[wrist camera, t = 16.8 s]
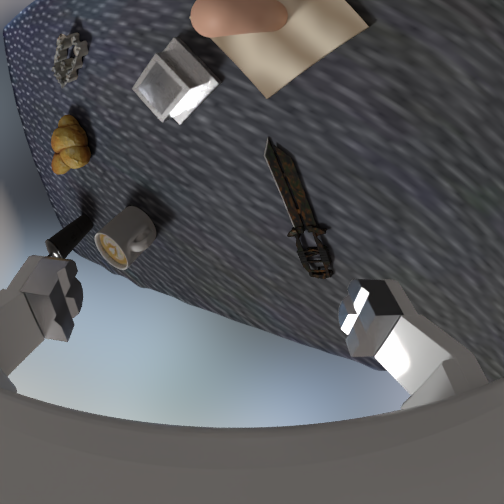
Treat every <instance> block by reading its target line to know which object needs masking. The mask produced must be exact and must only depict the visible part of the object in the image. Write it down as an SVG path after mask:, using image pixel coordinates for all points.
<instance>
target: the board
mask: <svg viewBox="0 0 504 504" xmlns="http://www.w3.org/2000/svg"><path fill="white" fill-rule="evenodd" d="M277 1H279V2H281V3H282V4H283V5H284V6H285V8H286V10H287V13H288V18H287V22H286V24H285V25H284V26H283V27H282V28H281V29H279V30H277V31H274V32H260V33H248V34H238V35H229V36H221V37H214V38H211V39H212V40H213V41H214V42H215V43H216V44H217V45H218V46H219V47H220V48H221V49H222V50H223V51H224V52H225V53H226V54H227V56H228V57H229V58H230V59H231V60H232V61H233V62H234V63H235V64H236V65H237V66H238V67H239V68H240V69H241V70H242V71H243V73H244V74H245V75H246V76H247V77H248V78H249V79H250V80H251V81H252V82H253V84H254V85H255V86H256V87H257V88H258V89H259V90H260V92H261V93H262V94H263V95H264V96H265V97H266V98H267V99H268V98H270V97H271V96H273V95H274V94H275V93H276V92H278V91H279V90H280V89H281V88H283V87H284V86H285V85H287V84H288V83H289V82H290V81H292V80H293V79H294V78H296V77H297V76H298V75H300V74H301V73H302V72H304V71H305V70H307V69H308V68H309V67H311V66H312V65H313V64H315V63H316V62H318V61H319V60H320V59H322V58H323V57H325V56H326V55H327V54H329V53H330V52H332V51H333V50H335V49H336V48H338V47H339V46H341V45H342V44H344V43H345V42H347V41H348V40H350V39H351V38H353V37H354V36H356V35H357V34H359V33H361V32H362V31H364V30H365V29H367V28H369V26H368V25H367V24H366V23H365V22H364V20H363V19H362V18H361V17H360V16H359V15H358V14H357V12H356V11H355V10H354V9H353V8H352V7H351V6H350V5H349V4H348V3H347V2H346V1H345V0H277ZM189 18H190V19H191V16H190V17H189Z"/></svg>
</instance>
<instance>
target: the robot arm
mask: <svg viewBox="0 0 504 504" xmlns="http://www.w3.org/2000/svg"><path fill="white" fill-rule="evenodd" d="M77 272H78V270H77V267H76V263H75V262H74V261H73V260H71V259H62V258H54V257H46V256H45V257H44V256H36V255H32V256H29V257H28V259H27V260H26V262H25V263H24V264H23V266H22V267H21V268H20V270H19V271H18V273H17V274H16V276H15V277H14V279H13V280H12V282H11V283H10V285H9V286H8V288H7V289H6V290H5V289H2V290H1V291H0V504H504V377H503V378H501V379H498V380H496V381H493V382H491V383H488V381H487V379H486V377H485V375H484V373H483V371H482V369H481V367H480V365H479V364H478V362H477V360H476V358H475V356H474V354H473V353H472V352H470V351H469V350H468V349H466V348H465V347H464V346H463V345H461V344H460V343H459V342H457V341H456V340H455V339H453V338H452V337H451V336H449V335H448V334H447V333H445V332H444V331H443V330H441V329H440V328H439V327H437V326H436V325H435V324H433V323H432V322H431V321H429V320H428V319H427V318H425V317H424V316H423V315H418V314H417V312H416V311H415V309H414V307H413V305H412V304H411V302H410V300H409V299H408V297H407V295H406V294H405V292H404V291H403V289H402V287H401V286H400V284H399V282H397V281H396V280H389V279H381V280H370V279H353V280H352V281H351V282H350V284H349V286H348V288H347V290H348V293H349V295H348V296H347V297H345V298H344V299H343V300H342V302H341V304H340V307H339V314H338V318H339V324H340V327H341V329H342V330H343V331H344V332H345V333H347V334H348V335H347V337H346V340H345V341H346V344H347V346H348V349H349V352H350V355H351V357H363V356H375V358H376V359H377V360H378V361H379V362H380V363H381V364H382V365H383V367H384V368H385V369H386V370H387V371H388V372H389V373H390V374H391V375H392V376H393V377H394V378H395V379H396V380H397V381H398V382H399V383H400V384H401V385H402V386H403V388H404V389H405V390H406V391H407V392H408V393H409V394H410V395H411V396H410V397H409V398H408V399H407V400H406V401H405V402H404V403H403V405H402V406H401V410H398V411H393V412H388V413H383V414H378V415H373V416H367V417H362V418H356V419H349V420H342V421H335V422H327V423H318V424H309V425H296V426H283V427H259V428H216V427H215V428H214V427H193V426H192V427H191V426H178V425H166V424H157V423H148V422H140V421H133V420H126V419H120V418H114V417H107V416H102V415H97V414H92V413H88V412H83V411H78V410H74V409H70V408H65V407H62V406H57V405H54V404H50V403H47V402H43V401H40V400H36V399H33V398H30V397H27V396H23V395H20V394H17V390H16V387H15V386H14V384H13V383H12V382H11V381H10V380H9V378H8V377H7V376H8V375H9V374H10V373H11V372H12V371H13V370H14V369H15V368H16V367H17V366H18V365H19V364H20V363H21V362H22V361H23V360H24V359H25V358H26V357H27V356H28V355H29V354H30V353H31V352H32V351H33V350H34V349H35V348H36V347H37V346H38V345H39V344H40V343H41V342H42V341H44V338H47V339H53V340H59V341H65V342H68V340H69V338H70V335H71V333H72V330H73V327H74V322H73V319H72V318H74V317H75V316H76V315H78V314H79V312H80V310H81V307H82V301H83V289H82V286H81V283H80V282H79V281H78V280H77V278H76V277H75V276H76V274H77Z"/></svg>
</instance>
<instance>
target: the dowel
mask: <svg viewBox="0 0 504 504" xmlns="http://www.w3.org/2000/svg"><path fill="white" fill-rule="evenodd" d="M287 18H288V13H287V10H286V8H285V6H284V5H283V4H282V3H281V2H279V1H277V0H197V1H196V2H195V3H194V5H193V7H192V10H191V22H192V25H193V27H194V29H195V30H196V31H197V32H198V33H199V34H201V35H202V36H205V37H209V38H214V37H221V36H229V35H238V34H248V33H260V32H274V31H277V30H279V29H281V28H282V27H283V26H284V25H285V24H286V22H287Z"/></svg>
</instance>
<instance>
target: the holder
mask: <svg viewBox="0 0 504 504" xmlns="http://www.w3.org/2000/svg"><path fill="white" fill-rule="evenodd" d="M221 83H222V82H221V80H220V79H219V78H218V77H217V76H216V75H215V74H214V73H213V72H212V71H211V70H210V69H209V68H208V67H207V65H206V64H205V63H204V62H203V61H202V60H201V59H200V58H199V57H198V56H197V55H196V54H195V53H194V52H193V51H192V50H191V49H190V48H189V47H188V46H187V45H186V44H185V43H184V42H183V41H182V40H181V39H180V38H179V37H174V38H173V39H172V41H171V42H170V43H169V45H168V46H167V47H166V49H165V50H164V51H163V52H159V53H156V54H155V55H154V57H153V58H152V60H151V61H150V63H149V64H148V65H147V67H146V68H145V70H144V71H143V73H142V74H141V76H140V77H139V79H138V81H137V82H136V84H135V85H134V87H133V88H132V89H133V90H134V92H135V93H136V94H137V95H138V96H139V97H140V98H141V99H142V100H143V102H144V103H145V104H146V105H147V106H148V107H149V108H150V109H151V111H152V112H153V113H154V114H155V115H156V116H157V117H158V118H159V120H160V121H161V122H162V123H163V122H165V121H167V120H169V119H170V118H172V117H173V118H174V119H175V120H176V121H177V122H178V124H179V125H181V124H183V123H184V122H185V121H186V120H187V119H188V118H189V117H190V115H191V114H192V113H193V112H194V111H195V110H196V109H197V108H198V107H199V106H200V105H201V104H202V103H203V101H204V100H205V99H206V98H207V97H208V96H209V95H210V94H211V93H212V92H213V91H214V90H215V89H216V88H217V87H218V86H219V85H220V84H221Z"/></svg>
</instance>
